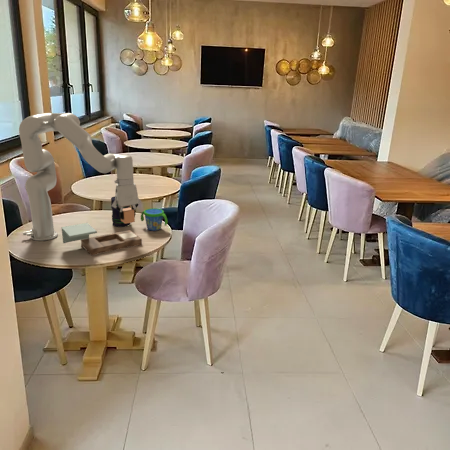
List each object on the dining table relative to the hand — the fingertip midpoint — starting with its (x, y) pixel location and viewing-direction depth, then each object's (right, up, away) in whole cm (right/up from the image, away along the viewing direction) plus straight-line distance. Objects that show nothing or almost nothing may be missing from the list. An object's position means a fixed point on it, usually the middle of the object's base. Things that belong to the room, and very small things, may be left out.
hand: (127, 217), depth 200 cm
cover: (-20, -13, -10) cm, 25 cm away
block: (0, -2, +1) cm, 2 cm away
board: (-8, -13, 0) cm, 15 cm away
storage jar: (-10, -3, +28) cm, 29 cm away
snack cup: (+9, -6, +22) cm, 25 cm away
